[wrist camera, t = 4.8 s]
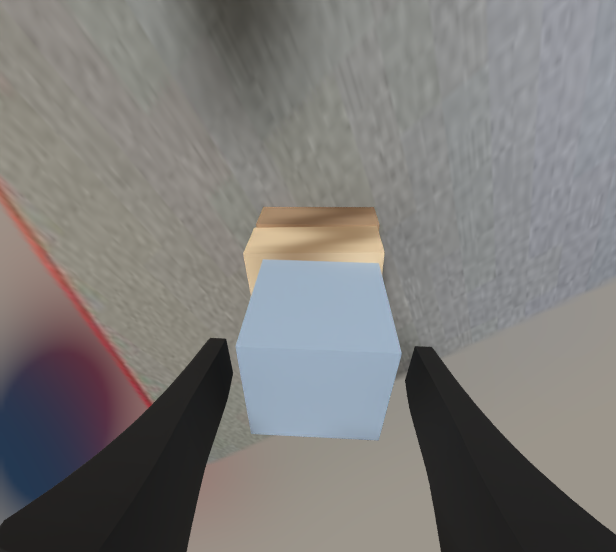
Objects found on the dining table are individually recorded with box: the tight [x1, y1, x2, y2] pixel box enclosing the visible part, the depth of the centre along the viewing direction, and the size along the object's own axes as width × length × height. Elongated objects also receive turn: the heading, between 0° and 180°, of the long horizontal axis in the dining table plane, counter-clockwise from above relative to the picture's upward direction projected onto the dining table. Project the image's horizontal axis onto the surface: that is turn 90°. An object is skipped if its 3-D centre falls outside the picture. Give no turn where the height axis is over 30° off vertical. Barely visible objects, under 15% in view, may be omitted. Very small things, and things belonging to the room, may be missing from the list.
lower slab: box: [256, 207, 379, 232], centre depth 18 cm, size 6×6×2 cm
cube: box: [236, 259, 402, 440], centre depth 13 cm, size 5×5×5 cm
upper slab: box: [243, 226, 385, 296], centre depth 16 cm, size 6×6×2 cm
